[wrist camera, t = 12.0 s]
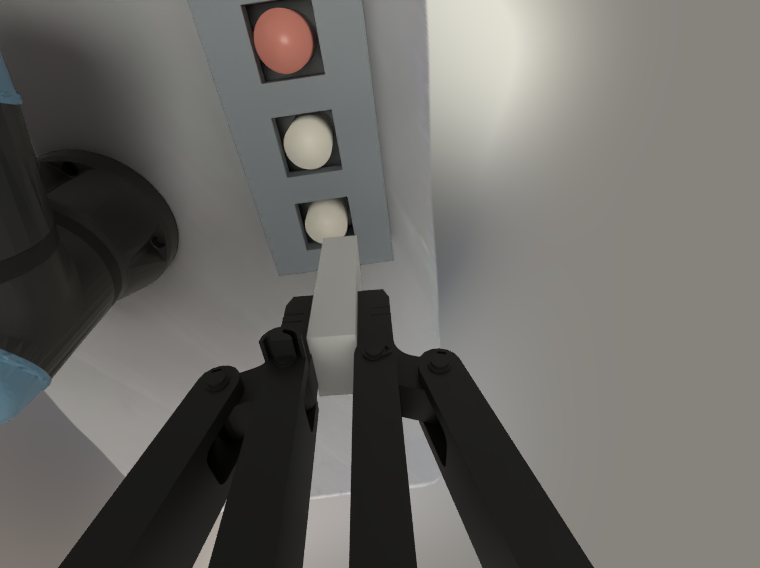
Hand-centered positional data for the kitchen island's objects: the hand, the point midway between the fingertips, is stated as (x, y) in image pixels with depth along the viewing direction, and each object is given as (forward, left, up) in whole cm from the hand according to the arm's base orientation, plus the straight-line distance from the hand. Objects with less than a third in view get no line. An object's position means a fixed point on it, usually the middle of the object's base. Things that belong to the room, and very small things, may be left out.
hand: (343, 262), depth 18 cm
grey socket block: (-3, +2, -24) cm, 24 cm away
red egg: (+1, +9, -22) cm, 24 cm away
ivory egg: (-6, -4, -23) cm, 24 cm away
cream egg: (-3, +2, -23) cm, 23 cm away
